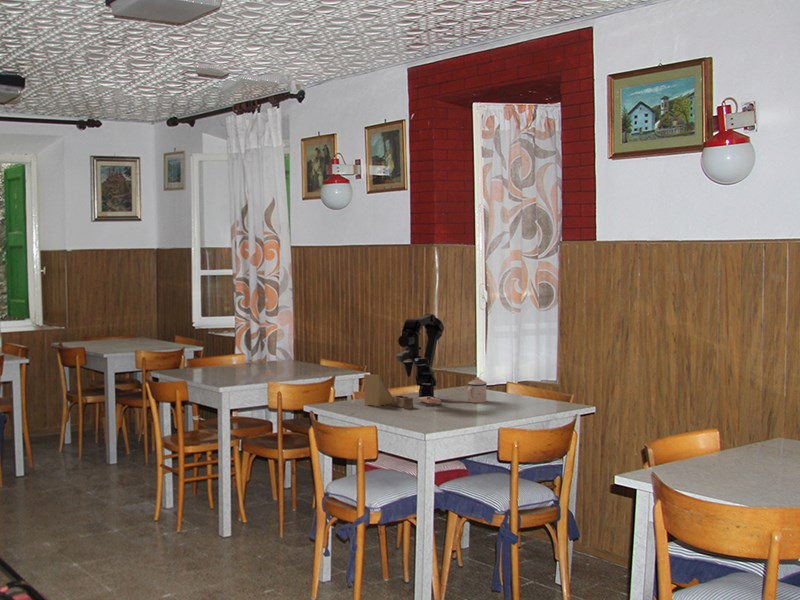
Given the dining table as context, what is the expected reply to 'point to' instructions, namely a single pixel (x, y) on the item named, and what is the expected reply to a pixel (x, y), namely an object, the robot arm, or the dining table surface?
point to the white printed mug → (476, 391)
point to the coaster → (428, 404)
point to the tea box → (403, 401)
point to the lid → (429, 400)
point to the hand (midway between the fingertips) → (413, 377)
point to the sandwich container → (376, 391)
